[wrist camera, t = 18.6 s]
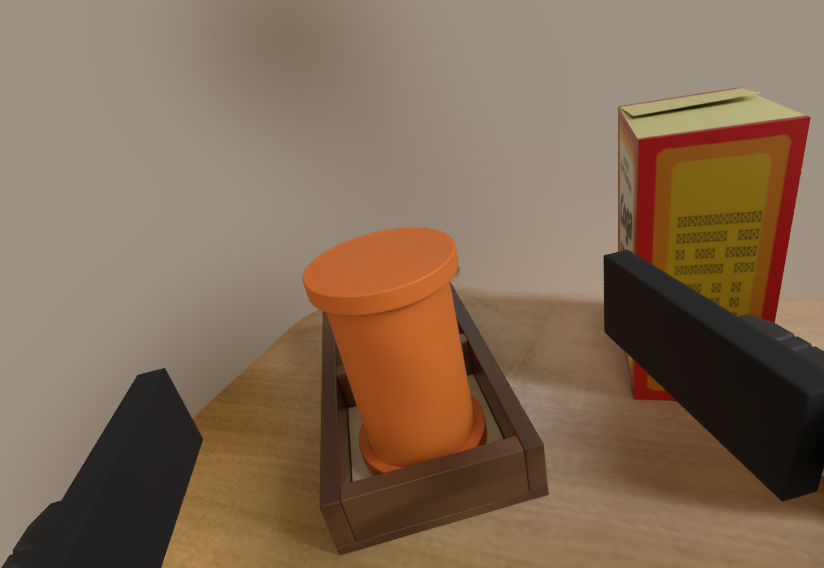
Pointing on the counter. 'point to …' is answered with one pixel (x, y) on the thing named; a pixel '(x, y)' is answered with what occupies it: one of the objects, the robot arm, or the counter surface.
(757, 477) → the robot arm
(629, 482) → the counter surface
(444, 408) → the spool
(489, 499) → the divided tray
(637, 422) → the counter surface
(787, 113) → the baking soda box
